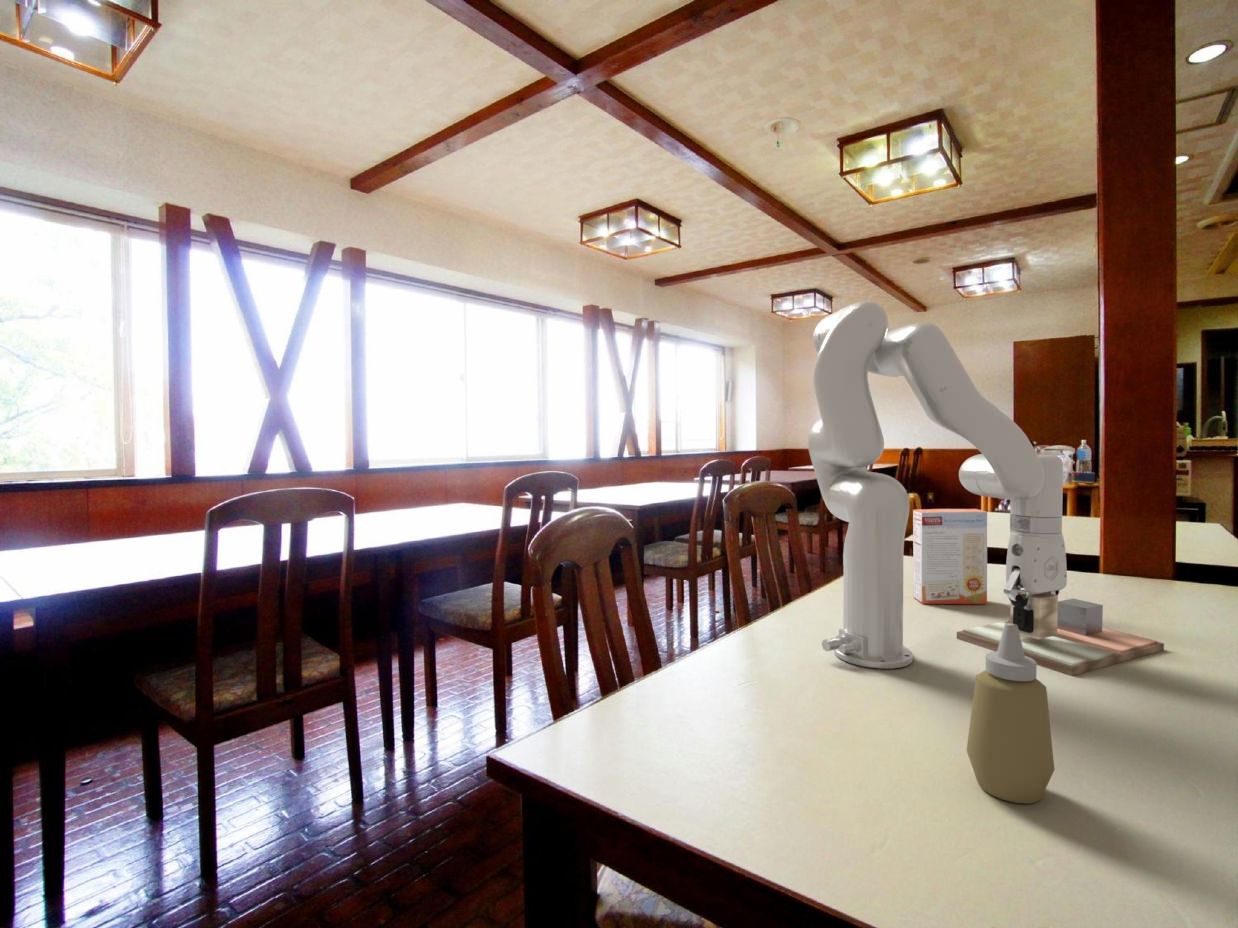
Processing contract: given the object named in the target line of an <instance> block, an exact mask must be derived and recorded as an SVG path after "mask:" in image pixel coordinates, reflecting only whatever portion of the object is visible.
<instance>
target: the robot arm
mask: <svg viewBox="0 0 1238 928" xmlns="http://www.w3.org/2000/svg"><path fill="white" fill-rule="evenodd" d="M812 343H813V347H814V348H815V349H814V350H815V351H816V352H817V353H818V354H817V357H816V360H815V364H814V369H813V388H814V392H815V393H814V394H815V397H816V401H817V405H818V406H817V407H818V410H819V413H820V418H819V419H818V420H816V421H815V422H814V423H813V425H812V426H811V428H810V431H809V434H808V439H807V440H808V441H807V442H808V443H807V447H808V453H809V456H810V461H811V464H812V467H813V470H814V474H815V478H816V481H817V485H818V486H819V487H818V488H819V491H820V495H821V497H822V500H823V502H824V504H825V506H826V508H827V510H828V511H829V512H830V513H831V515H833V516H834V517H836V518H838V519H839V520H841V521H844V522H847V523H848V525H847V530H846V535H845V538H844V539H845V540H844V544H843V554H842V559H843V561H842V565H843V600H842V601H843V607H842V608H843V614H842V615H843V618H842V619H843V620H842V622H843V625H842V627H843V628H840V629H838V635H836V636H835V637H832V638H826V639H823V640H822V641H821V647H822V649H823V650H824V651H825V652H831V651H833V652H834V654H835V656H836V657H837V658H839V659H841V660H842V661H844V662H846V663H850V664H852V665H855V666H856V665H857V666H860V667H866V668H871V669H887V670H889V669H891V670H892V669H901V668H904V667H907V666H909V665H911V664H912V663H913V661H914V658H913V657H914V654H913V652H912V651H911V649H909V648H907V647H906V646H905V645H904V548H905V538H906V537H905V536H906V531H907V526H908V520H909V516H910V510H911V509H910V508H911V507H910V498H909V495H908V493H907V490H906V488H905V486H903V484H902V483H901V482H900V481H899V480H897V479H896V478H895V477H892V476H891V475H888V474H885V473H881V472H880V473H879V472H873V471H869V470H868V468H867V467H868V466H871V465H873V464H875V463H876V462H877V461H878V460H879V459H880V458H881V456H882V455H883V454H884V453H883V452H884V449H885V440H884V435H883V432H882V428H881V423H880V421H879V418H878V414H877V411H876V408H875V405H874V401H873V398H872V397H873V396H872V394H871V390H870V385H869V384H870V383H869V380H868V379H869V377H868V376H869V374H868V373H870V374H874V375H879V376H884V377H890V378H891V377H893V378H897V377H902V376H903V377H904V379H905V380H906V382H907V384H908V385H909V387H910V388H911V390H912V392H913V393H914V395H915V397H916V398H917V400H918V401H919V403H920V405H921V407H922V408H923V410H924V412H925V414H926V416H927V417H928V418H929V419H930V420H931V421H932V422H934V423H935V424H936V425H938V426H940V427H942V428H943V429H945V430H948V431H950V432H952V433H953V434H956V435H957V436H959V437H961V438H963V439H965V440H966V441H968V442H969V443H970V444H972V446H974V448H976V450H978V451H979V452H980V454H975V455H973V456H971V457H969V458H967V459H966V460H965V461H963V463H962V464H961V466H960V468H959V470H958V479H959V482H960V484H961V485H962V487H964V489H965V490H967V491H968V492H970V493H972V494H974V495H978V496H981V497H987V498H988V497H989V498H995V499H996V498H997V499H1003V500H1009V503H1010V508H1009V510H1010V513H1009V514H1010V515H1009V522H1010V523H1009V538H1008V539H1009V540H1008V545H1007V553H1006V562H1005V563H1006V564H1005V567H1006V568H1005V582H1006V584H1005V585H1004V587H1003V593H1004V595H1006V596H1007V598H1008V600H1009V601H1011V606H1012V607H1013V624H1016V625H1018V630H1020V631H1024V632H1027V633H1032V632H1033V617H1034V610H1031V605H1032V600H1033V595H1034V594H1042V593H1049V594H1054V595H1058V596H1059V594H1060V591H1062V590H1063V589H1065V588H1066V587H1067V581H1068V578H1067V577H1068V575H1067V574H1068V572H1067V571H1068V570H1067V569H1068V568H1067V553H1066V543H1065V539H1064V535H1063V534H1064V533H1063V497H1064V496H1063V493H1064V491H1063V489H1064V462H1063V460H1062V458H1061V457H1060V456H1058V455H1054V454H1038V453H1037V451H1036V450H1035V448H1034V446H1033V444H1032V443H1031V441H1030V440H1029V438H1028V436H1027V435H1026V433H1025V432H1024V431H1023V429H1022V428H1021V427H1020V426H1019V425H1018V424H1017V423H1016V422H1015V421H1014V420H1013V419H1012V418H1010V417H1009V416H1007V415H1006V414H1005V413H1004V412H1003V411H1001V409H999V408H998V407H997V406H996V405H995V404H993V403H992V402H991V401H990V400H988V399H987V398H985V397H984V396H983V395H982V394H981V393H980V392H979V390H978V388H977V387H976V385H975V384H974V383H973V381H972V378H971V377H970V376H969V374H968V372H967V371H966V369H965V367H964V365H963V364H962V362H961V360H960V358H959V357H958V355H957V353H956V351H955V350H954V348H953V347H952V344H951V343H950V342H949V339H948V338H947V336H946V335H945V333H944V332H943V330H941V328H940V327H939V326H937V325H935V324H933V323H931V322H916V323H911V324H908V325H903V326H901V327H898V328H895V329H893V328H889V319H888V315H887V312H886V311H885V309H884V308H883V307H882V306H881V305H880V304H878V302H877V303H876V302H874V301H867V300H865V301H864V300H863V301H858V302H854V303H852V304H849V305H846V306H844V307H843V308H841V309H839V310H837V311H835V312H833V313H831V314H829V315H827V316H825V317H824V318H823V319H821V320H820V321H819V322H818V323H817V324H816V327H815V328H814V331H813V335H812ZM1025 590H1026V591H1025ZM1020 593H1022V594H1026V597H1025V600H1024V598H1023V597H1022V596H1021V595H1020Z"/></svg>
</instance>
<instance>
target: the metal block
mask: <svg viewBox="0 0 1238 928" xmlns="http://www.w3.org/2000/svg"><path fill="white" fill-rule="evenodd" d="M1103 606H1104V604H1099V603H1095V602H1091V601H1086V600H1082V599H1077V598H1069V599H1064V600H1058V616H1057V629H1061V630H1065V631H1068V632H1072V633H1076V634H1080V635H1083V636H1088V635H1092V634H1096V633H1100V632H1102V627H1103V615H1104V614H1103V612H1104V611H1103Z"/></svg>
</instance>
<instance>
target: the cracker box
mask: <svg viewBox="0 0 1238 928" xmlns="http://www.w3.org/2000/svg"><path fill="white" fill-rule="evenodd" d="M912 515H913V516H912V526H913V527H912V542H913V543H912V546H913V547H912V548H913V549H912V550H913V551H912V554H913V555H912V556H913V557H912V558H913V559H912V560H913V564H912V566H913V580H912V581H913V599H914V600H916V601H918V603H921V604H922V605H988V511H985V510H981V509H978V508H931V509H930V508H929V509H928V508H927V509H926V508H924V509H913V510H912Z"/></svg>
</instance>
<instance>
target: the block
mask: <svg viewBox="0 0 1238 928" xmlns="http://www.w3.org/2000/svg"><path fill="white" fill-rule="evenodd" d="M1024 590H1025V589H1024ZM1025 591H1026V590H1025ZM1020 595H1021V596H1022V597H1023V598H1024V600H1025V597H1026V594H1022V593H1020ZM1009 601H1010V600H1009ZM1058 601H1059V594H1058V595H1054V594H1049V593H1042V594H1034V595H1033V600H1032V605H1031V610H1034V617H1033V632H1032V633H1027V632H1024V631H1020V630H1019V634H1022V635H1025V636H1029V637H1032V638H1036V639H1042V638H1047V637H1051V636H1056V635H1057V616H1058ZM1009 607H1010V609H1009V610H1010V612H1009V614H1010V615H1009V620H1010V623H1012V624H1013V607H1012V606H1011V601H1010V604H1009Z"/></svg>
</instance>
